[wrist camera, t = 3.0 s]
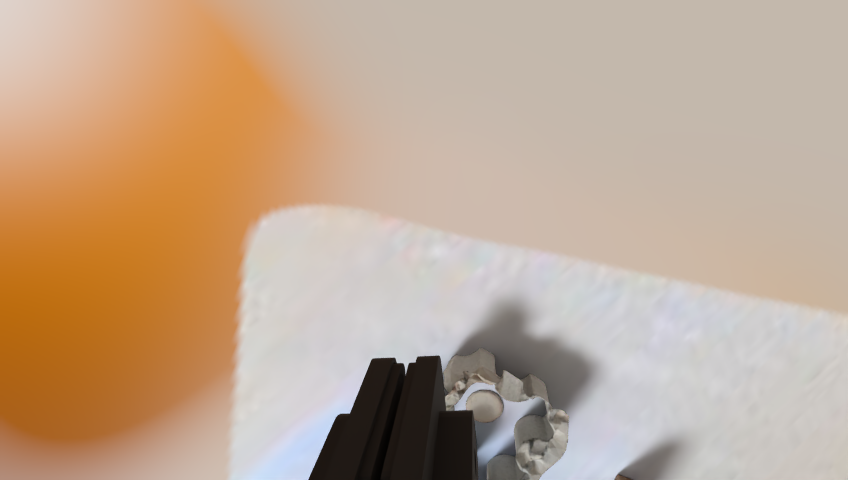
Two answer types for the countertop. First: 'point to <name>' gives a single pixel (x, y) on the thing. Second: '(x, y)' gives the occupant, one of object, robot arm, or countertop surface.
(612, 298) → the countertop surface
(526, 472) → the grey holed block
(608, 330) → the countertop surface
